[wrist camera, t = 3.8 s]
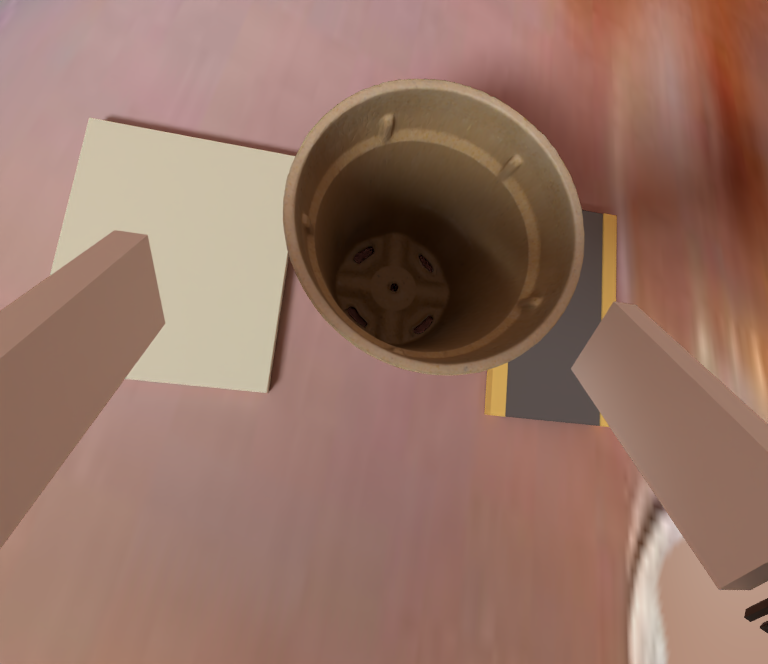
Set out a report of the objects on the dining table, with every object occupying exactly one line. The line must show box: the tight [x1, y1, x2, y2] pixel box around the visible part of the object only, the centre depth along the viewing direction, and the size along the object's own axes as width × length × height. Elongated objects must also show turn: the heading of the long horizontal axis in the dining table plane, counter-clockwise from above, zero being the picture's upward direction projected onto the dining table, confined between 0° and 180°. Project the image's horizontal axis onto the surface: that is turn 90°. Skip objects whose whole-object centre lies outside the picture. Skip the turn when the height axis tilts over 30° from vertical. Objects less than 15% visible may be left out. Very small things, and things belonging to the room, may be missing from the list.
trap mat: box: [484, 210, 617, 427], centre depth 20 cm, size 7×12×1 cm, turn 173°
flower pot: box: [283, 79, 585, 375], centre depth 15 cm, size 9×9×9 cm
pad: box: [50, 118, 295, 393], centre depth 18 cm, size 10×12×1 cm
